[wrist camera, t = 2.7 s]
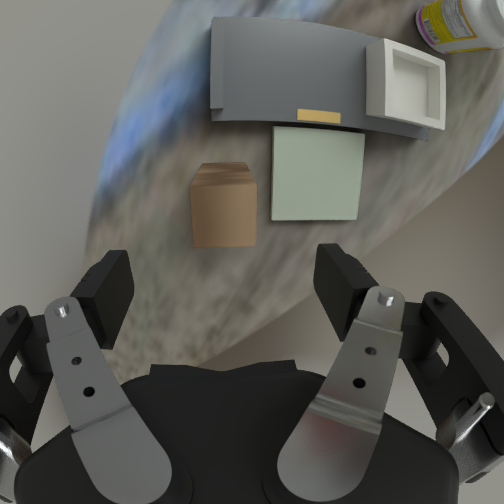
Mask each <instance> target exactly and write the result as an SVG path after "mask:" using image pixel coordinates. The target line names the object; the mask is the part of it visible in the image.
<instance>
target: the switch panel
mask: <svg viewBox="0 0 504 504" xmlns="http://www.w3.org/2000/svg"><path fill="white" fill-rule="evenodd" d="M381 39H382V38H378V37H375V36H371V35H368V34H364V33H360V32H356V31H352V30H348V29H343V28H338V27H334V26H328V25H323V24H317V23H311V22H304V21H296V20H287V19H276V18H262V17H213V19H212V28H211V67H210V109H211V121H283V122H301V123H314V124H325V125H335V126H344V127H352V128H359V129H366V130H373V131H379V132H385V133H391V134H396V135H401V136H406V137H411V138H416V139H421V140H425V141H428V134H429V128H427V127H421V126H417V125H413V124H409V123H405V122H400V121H396V120H391V119H386V118H381V117H375V116H370V115H366V45H369V44H371V43H373V42H376V41H378V40H381Z"/></svg>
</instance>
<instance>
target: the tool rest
mask: <svg viewBox="0 0 504 504" xmlns="http://www.w3.org/2000/svg"><path fill="white" fill-rule="evenodd" d="M364 143H365V134H361V133H353V132H345V131H336V130H326V129H314V128H300V127H280V126H273V135H272V178H271V212H270V217H271V220H356V219H357V212H358V204H359V196H360V188H361V178H362V168H363V156H364Z"/></svg>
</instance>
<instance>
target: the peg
mask: <svg viewBox="0 0 504 504" xmlns="http://www.w3.org/2000/svg"><path fill="white" fill-rule="evenodd" d="M190 201H191V217H192V230H193V243H194V248H210V247H241V246H256V212H257V184H256V182H255V180H254V178H253V176H252V174H251V172H250V170H249V169H248V167H247V165H246V163H245V162H234V163H202V165H201V167H200V169H199V171H198V172H197V174H196V176H195V178H194V180H193V182H192V184H191V185H190Z"/></svg>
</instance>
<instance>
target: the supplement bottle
mask: <svg viewBox="0 0 504 504" xmlns="http://www.w3.org/2000/svg"><path fill="white" fill-rule="evenodd" d="M416 24H417V27H418V30H419V32H420V34H421V36H422V37H423V39H424V40H425V41H426V43H427V44H428V45H429V46H430V47H432V48H433V49H434V50H436V51H438V52H440V53H443V54H451V53H459V52H467V51H477V50H491V49H501V48H503V47H504V0H439V1H436V2H433V3H431V4H428V5H426V6H423V7H421V8H420V9H419V10H418V11H417V13H416Z"/></svg>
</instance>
